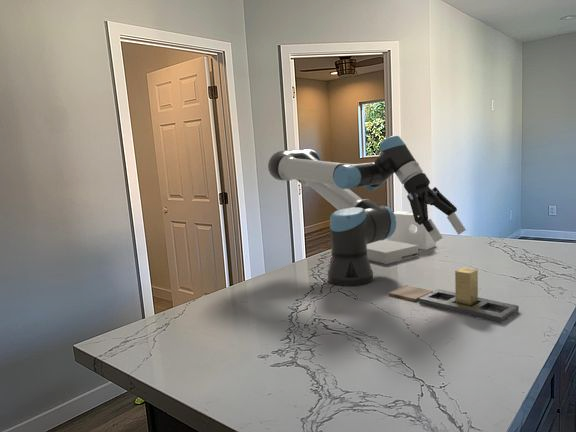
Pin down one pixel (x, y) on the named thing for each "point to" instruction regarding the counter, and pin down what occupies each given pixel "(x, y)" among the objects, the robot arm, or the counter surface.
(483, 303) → the grey flat slotted block
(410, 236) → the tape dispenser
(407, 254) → the disc drive
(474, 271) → the square wooden peg
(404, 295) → the walnut pad
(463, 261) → the counter surface
